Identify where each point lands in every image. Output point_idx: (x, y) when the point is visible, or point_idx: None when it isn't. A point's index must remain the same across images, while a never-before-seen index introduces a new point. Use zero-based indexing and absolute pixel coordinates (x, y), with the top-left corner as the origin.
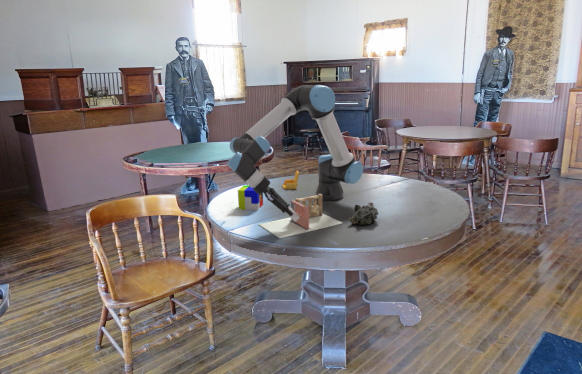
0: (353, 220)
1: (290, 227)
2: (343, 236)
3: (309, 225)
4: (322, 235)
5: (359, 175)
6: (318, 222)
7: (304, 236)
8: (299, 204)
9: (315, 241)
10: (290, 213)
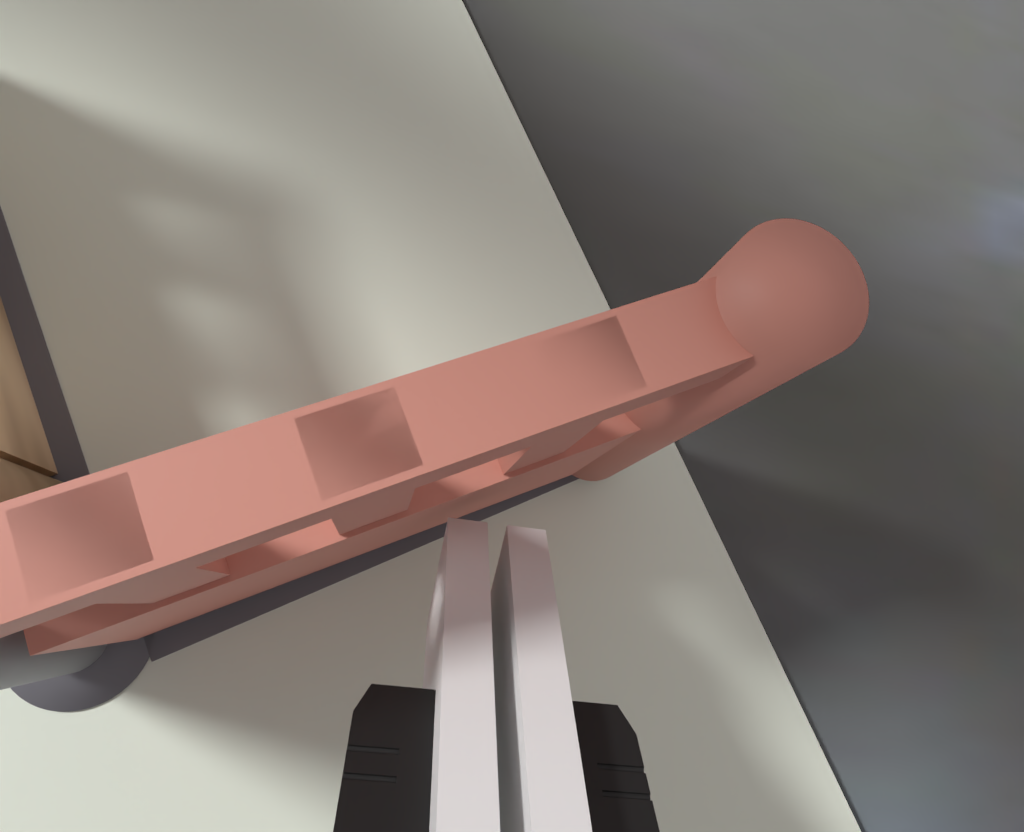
0: None
1: None
2: (857, 70)
3: None
4: None
5: None
6: (317, 205)
7: (837, 528)
8: (404, 448)
9: (1004, 415)
10: (636, 793)
